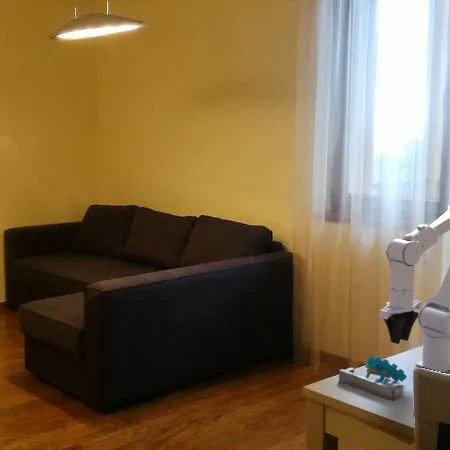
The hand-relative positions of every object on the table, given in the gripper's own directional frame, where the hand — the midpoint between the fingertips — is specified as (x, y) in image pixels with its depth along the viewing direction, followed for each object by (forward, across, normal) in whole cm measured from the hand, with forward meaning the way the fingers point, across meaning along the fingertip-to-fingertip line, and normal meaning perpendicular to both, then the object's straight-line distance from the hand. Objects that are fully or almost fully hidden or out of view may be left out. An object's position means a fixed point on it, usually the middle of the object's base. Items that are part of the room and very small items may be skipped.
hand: (399, 341), depth 170 cm
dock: (+9, +11, 0) cm, 14 cm away
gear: (+10, +6, 0) cm, 11 cm away
